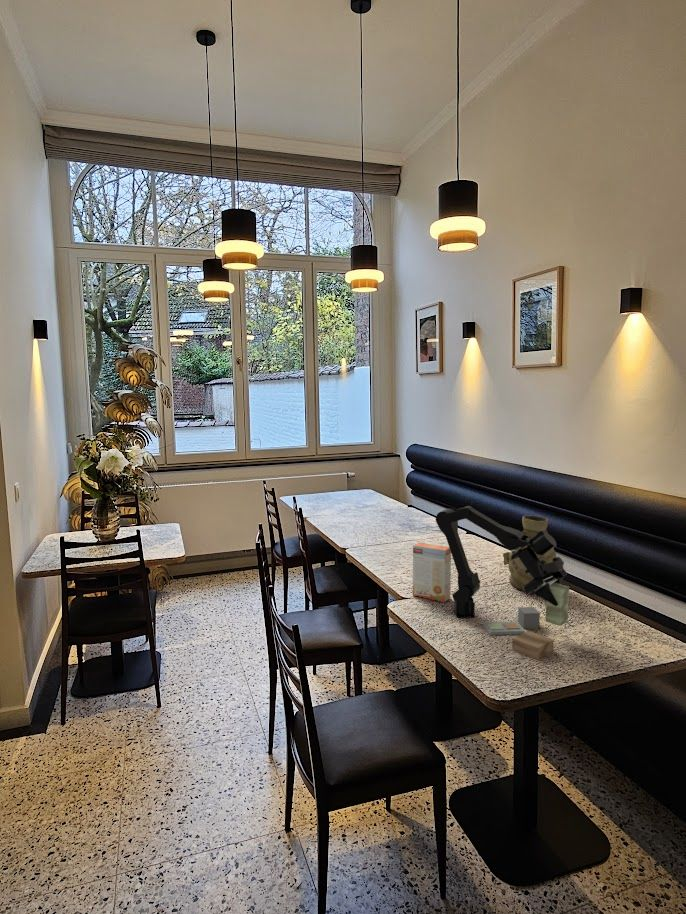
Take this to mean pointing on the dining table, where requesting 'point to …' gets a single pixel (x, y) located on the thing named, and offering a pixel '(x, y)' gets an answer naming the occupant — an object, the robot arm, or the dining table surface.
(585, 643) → the dining table surface
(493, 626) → the board
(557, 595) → the sage pillar
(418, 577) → the cracker box
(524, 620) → the charcoal cube
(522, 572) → the ceramic vessel
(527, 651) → the walnut base block
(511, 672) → the dining table surface
